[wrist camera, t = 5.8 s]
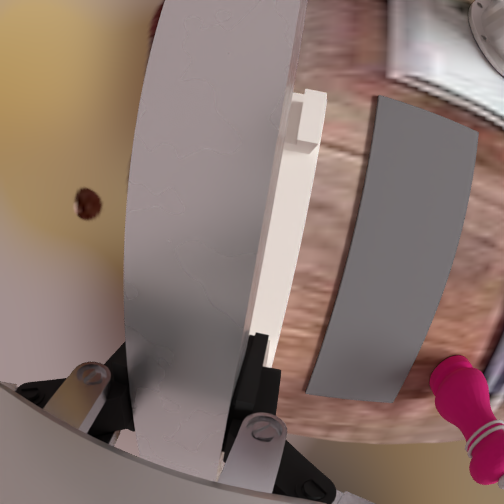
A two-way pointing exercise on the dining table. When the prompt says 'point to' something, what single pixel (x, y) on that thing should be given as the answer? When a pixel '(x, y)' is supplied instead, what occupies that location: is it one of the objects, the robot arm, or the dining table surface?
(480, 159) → the dining table surface
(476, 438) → the pepper mill
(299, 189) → the rail stand
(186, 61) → the rail
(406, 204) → the mat
